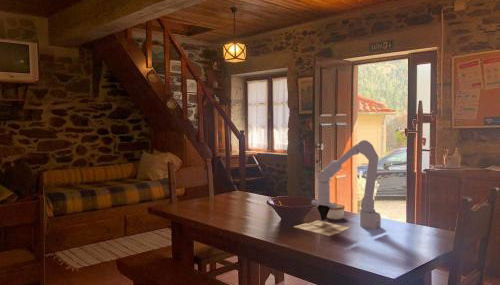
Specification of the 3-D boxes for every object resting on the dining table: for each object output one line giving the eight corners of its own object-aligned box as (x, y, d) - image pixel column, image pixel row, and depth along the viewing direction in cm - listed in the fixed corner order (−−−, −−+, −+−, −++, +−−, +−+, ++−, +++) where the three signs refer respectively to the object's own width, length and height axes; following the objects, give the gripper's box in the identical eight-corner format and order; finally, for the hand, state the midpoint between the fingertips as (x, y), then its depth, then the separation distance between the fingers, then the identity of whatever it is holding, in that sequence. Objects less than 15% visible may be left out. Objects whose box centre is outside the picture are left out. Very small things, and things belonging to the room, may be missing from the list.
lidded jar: (321, 220, 212) (321, 203, 212) (327, 216, 222) (327, 200, 221) (341, 223, 207) (341, 205, 207) (346, 218, 217) (346, 201, 216)
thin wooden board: (342, 234, 187) (342, 231, 187) (329, 238, 180) (329, 235, 180) (306, 225, 203) (306, 223, 203) (293, 229, 196) (293, 226, 196)
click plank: (350, 229, 193) (350, 227, 193) (340, 233, 188) (340, 231, 188) (317, 222, 208) (317, 220, 208) (307, 225, 202) (307, 223, 202)
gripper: (340, 194, 200) (340, 221, 200) (317, 191, 210) (317, 216, 211) (331, 196, 195) (331, 223, 196) (309, 192, 206) (309, 218, 206)
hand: (323, 220), depth 203 cm, fingers closed
